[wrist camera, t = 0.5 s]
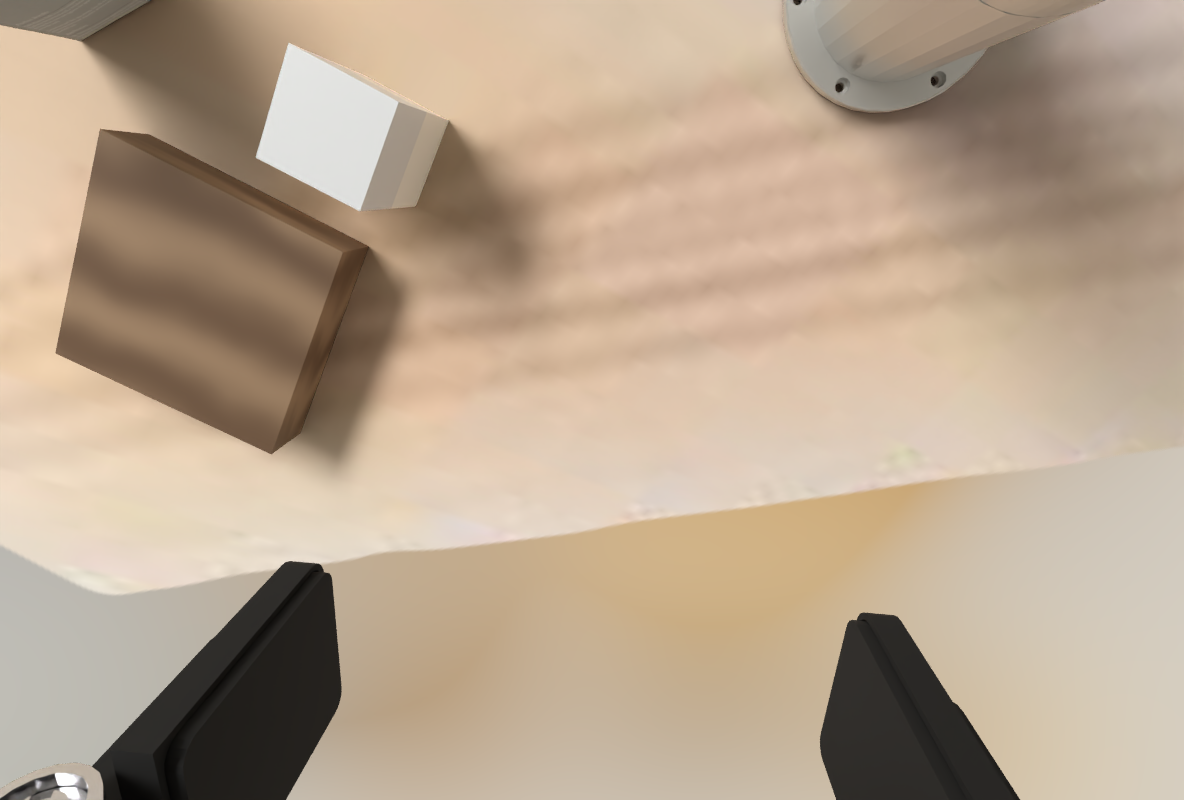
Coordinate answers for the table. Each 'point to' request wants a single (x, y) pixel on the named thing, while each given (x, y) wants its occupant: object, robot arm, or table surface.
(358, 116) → the white rectangular block
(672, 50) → the table surface
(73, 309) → the walnut stand
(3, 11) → the skincare box
